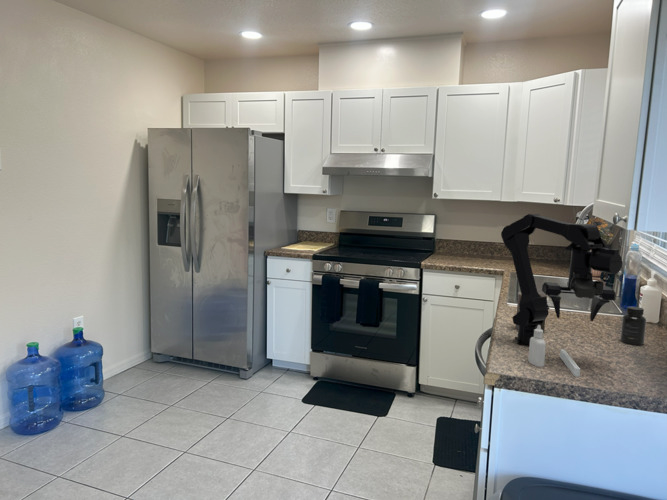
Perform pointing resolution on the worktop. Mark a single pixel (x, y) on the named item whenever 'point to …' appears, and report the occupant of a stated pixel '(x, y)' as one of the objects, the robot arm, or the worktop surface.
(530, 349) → the eye dropper bottle
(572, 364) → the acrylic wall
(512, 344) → the worktop surface
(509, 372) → the worktop surface
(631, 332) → the supplement bottle
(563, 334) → the worktop surface
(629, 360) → the worktop surface
